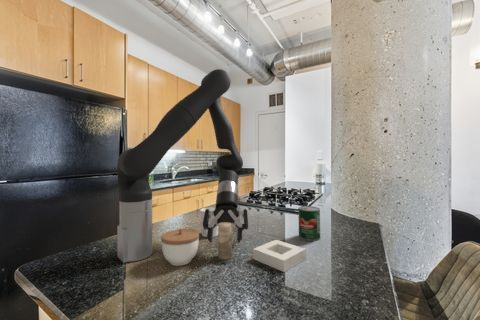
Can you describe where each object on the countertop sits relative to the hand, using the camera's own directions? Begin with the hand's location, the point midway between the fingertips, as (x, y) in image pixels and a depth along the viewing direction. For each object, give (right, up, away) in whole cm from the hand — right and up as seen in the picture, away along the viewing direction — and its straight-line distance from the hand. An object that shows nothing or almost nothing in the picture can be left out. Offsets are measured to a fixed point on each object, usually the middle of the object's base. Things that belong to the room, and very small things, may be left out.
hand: (224, 241), depth 66 cm
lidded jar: (-13, -6, -1) cm, 14 cm away
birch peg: (0, -5, +1) cm, 5 cm away
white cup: (-7, -6, +22) cm, 24 cm away
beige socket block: (+16, -5, -1) cm, 17 cm away
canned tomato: (+31, -5, +18) cm, 36 cm away
